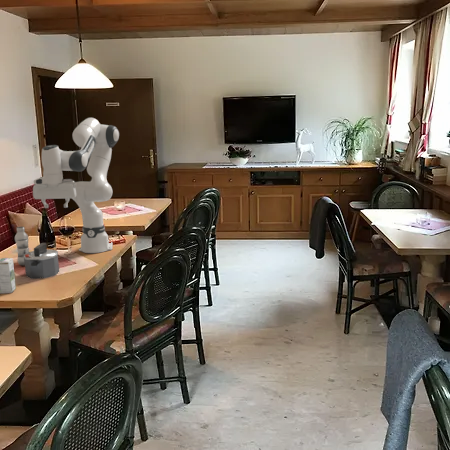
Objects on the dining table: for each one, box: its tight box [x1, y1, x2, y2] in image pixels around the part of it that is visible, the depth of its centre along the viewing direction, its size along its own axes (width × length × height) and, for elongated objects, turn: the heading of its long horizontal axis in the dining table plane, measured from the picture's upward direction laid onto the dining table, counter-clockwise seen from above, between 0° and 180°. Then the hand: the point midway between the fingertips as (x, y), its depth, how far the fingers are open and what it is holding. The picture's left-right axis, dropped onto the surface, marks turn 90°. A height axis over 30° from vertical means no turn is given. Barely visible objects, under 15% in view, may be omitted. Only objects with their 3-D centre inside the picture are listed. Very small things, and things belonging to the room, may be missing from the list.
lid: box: [24, 242, 59, 261], centre depth 245 cm, size 16×16×6 cm
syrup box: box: [0, 257, 17, 294], centre depth 222 cm, size 6×6×14 cm
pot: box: [24, 254, 60, 280], centre depth 246 cm, size 20×14×9 cm
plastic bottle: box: [14, 226, 30, 266], centre depth 261 cm, size 6×7×20 cm
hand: (56, 207), depth 248 cm, fingers open, 8 cm apart
